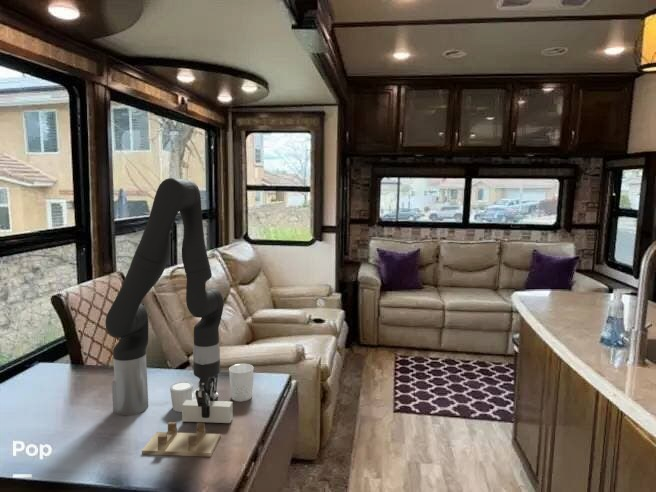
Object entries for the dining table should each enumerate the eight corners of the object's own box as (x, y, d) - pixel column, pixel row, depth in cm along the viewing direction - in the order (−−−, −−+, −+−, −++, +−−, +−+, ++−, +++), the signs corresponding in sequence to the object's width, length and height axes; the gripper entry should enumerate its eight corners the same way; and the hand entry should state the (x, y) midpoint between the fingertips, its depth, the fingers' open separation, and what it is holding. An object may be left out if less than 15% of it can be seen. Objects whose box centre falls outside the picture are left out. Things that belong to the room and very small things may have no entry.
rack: (142, 454, 117) (141, 437, 116) (156, 435, 126) (156, 419, 125) (210, 456, 116) (210, 440, 115) (220, 437, 125) (220, 422, 124)
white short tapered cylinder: (198, 404, 144) (197, 383, 143) (184, 414, 138) (183, 392, 137) (179, 400, 146) (179, 379, 146) (165, 410, 140) (165, 388, 139)
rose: (213, 393, 142) (183, 392, 143) (213, 406, 143) (183, 406, 143) (222, 380, 152) (193, 379, 153) (222, 392, 153) (194, 391, 153)
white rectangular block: (182, 421, 132) (182, 405, 132) (186, 415, 135) (185, 400, 135) (230, 423, 132) (229, 406, 131) (232, 417, 135) (232, 401, 134)
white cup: (231, 392, 153) (230, 363, 152) (254, 391, 153) (254, 363, 152) (228, 403, 145) (227, 373, 144) (252, 402, 146) (252, 372, 144)
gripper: (202, 348, 138) (203, 402, 141) (185, 366, 124) (186, 426, 127) (226, 349, 138) (226, 403, 140) (212, 367, 124) (213, 427, 126)
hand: (207, 413), depth 133 cm, fingers closed on white rectangular block, 3 cm apart
